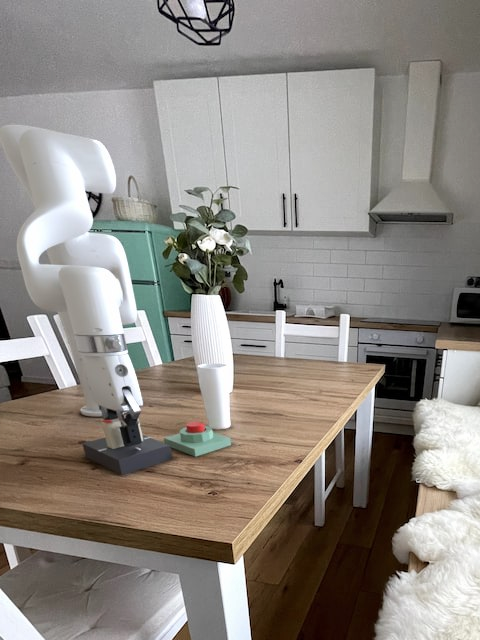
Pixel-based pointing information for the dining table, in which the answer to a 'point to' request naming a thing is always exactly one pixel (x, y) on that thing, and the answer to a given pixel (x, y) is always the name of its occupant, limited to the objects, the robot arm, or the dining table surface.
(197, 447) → the button box
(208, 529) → the dining table surface
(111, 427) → the knob
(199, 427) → the button
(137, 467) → the panel
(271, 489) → the dining table surface
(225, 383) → the drinking glass
